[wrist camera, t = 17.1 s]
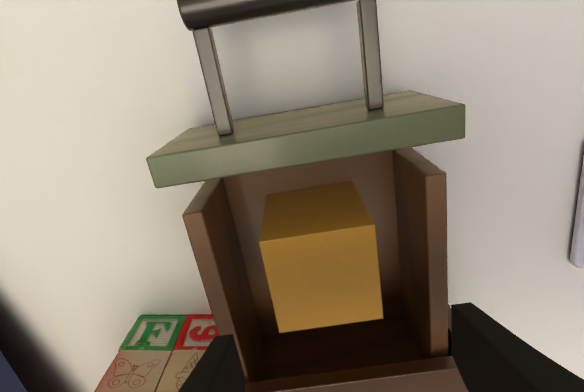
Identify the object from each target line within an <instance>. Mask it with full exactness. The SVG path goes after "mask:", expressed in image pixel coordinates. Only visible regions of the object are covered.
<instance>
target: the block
mask: <svg viewBox="0 0 584 392" xmlns="http://www.w3.org/2000/svg"><path fill="white" fill-rule="evenodd" d="M259 246H260V250H261V255H262V259H263V263H264V268H265V272H266V277H267V281H268V285H269V290H270V294H271V299H272V303H273V307H274V312H275V316H276V321H277V325H278V329H279V332H280V333H282V332H290V331H297V330H304V329H311V328H319V327H326V326H333V325H340V324H348V323H355V322H362V321H369V320H376V319H383V307H382V296H381V285H380V274H379V263H378V252H377V242H376V231H375V224H374V222H373V220H372V218H371V216H370V214H369V212H368V211H367V209H366V207H365V205H364V203H363V201H362V199H361V197H360V195H359V193H358V191H357V189H356V187H355V186H354V184H353V182H346V183H339V184H333V185H327V186H321V187H314V188H308V189H302V190H296V191H289V192H283V193H277V194H271V195H267V196H266V202H265V208H264V214H263V220H262V226H261V232H260V238H259Z"/></svg>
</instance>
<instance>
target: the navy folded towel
mask: <svg viewBox="0 0 584 392" xmlns="http://www.w3.org/2000/svg"><path fill="white" fill-rule="evenodd" d="M0 392H27V391H26V389H25V388H24V386H23V385H22V383H21V382H20V380H19V379H18V377H17V376H16V374H15V373H14V371H13V369H12V368H11V366H10V365H9V363H8V362H7V360H6V359H5V357H4V356H3V354H2V353H1V351H0Z"/></svg>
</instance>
